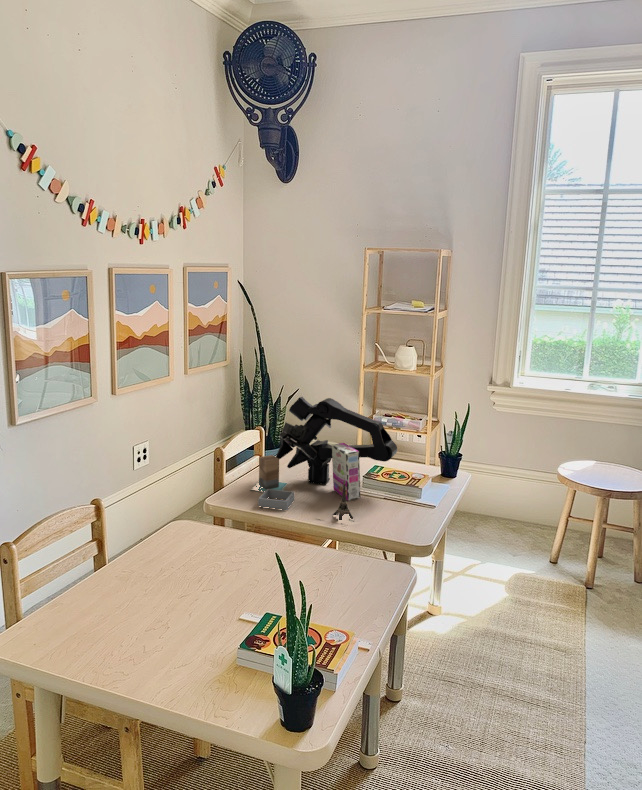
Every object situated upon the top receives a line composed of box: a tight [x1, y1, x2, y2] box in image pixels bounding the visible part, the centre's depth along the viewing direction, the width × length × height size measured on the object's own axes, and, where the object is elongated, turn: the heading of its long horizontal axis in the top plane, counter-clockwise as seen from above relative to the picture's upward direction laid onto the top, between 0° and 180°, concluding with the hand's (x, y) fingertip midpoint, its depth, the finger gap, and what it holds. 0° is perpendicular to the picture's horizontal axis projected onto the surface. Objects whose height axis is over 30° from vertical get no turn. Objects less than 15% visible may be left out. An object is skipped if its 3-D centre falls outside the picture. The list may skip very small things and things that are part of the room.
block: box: [258, 454, 280, 489], centre depth 224 cm, size 5×5×10 cm
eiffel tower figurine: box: [332, 480, 354, 520], centre depth 199 cm, size 15×10×13 cm
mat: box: [254, 481, 288, 491], centre depth 225 cm, size 10×10×1 cm
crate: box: [257, 489, 296, 511], centre depth 209 cm, size 9×9×3 cm
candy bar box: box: [331, 442, 361, 502], centre depth 217 cm, size 11×5×16 cm, turn 25°
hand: (281, 463), depth 225 cm, fingers open, 9 cm apart
